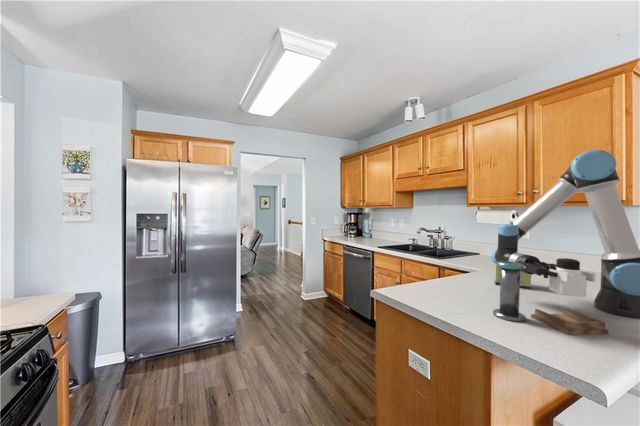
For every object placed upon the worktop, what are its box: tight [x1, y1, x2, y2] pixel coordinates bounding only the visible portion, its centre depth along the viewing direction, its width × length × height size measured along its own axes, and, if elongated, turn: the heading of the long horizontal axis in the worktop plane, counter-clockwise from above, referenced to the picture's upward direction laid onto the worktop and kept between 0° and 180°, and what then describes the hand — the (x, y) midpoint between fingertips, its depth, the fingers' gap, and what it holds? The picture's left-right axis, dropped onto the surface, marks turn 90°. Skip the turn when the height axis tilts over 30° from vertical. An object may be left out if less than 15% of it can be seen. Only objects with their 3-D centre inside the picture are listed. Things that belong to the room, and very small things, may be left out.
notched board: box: [530, 308, 609, 336], centre depth 95 cm, size 14×14×4 cm
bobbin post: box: [492, 261, 526, 323], centre depth 101 cm, size 10×10×20 cm
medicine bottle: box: [548, 257, 588, 298], centre depth 95 cm, size 7×7×12 cm
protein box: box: [494, 263, 532, 290], centre depth 146 cm, size 10×16×16 cm
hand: (581, 277), depth 90 cm, fingers closed on medicine bottle, 9 cm apart
